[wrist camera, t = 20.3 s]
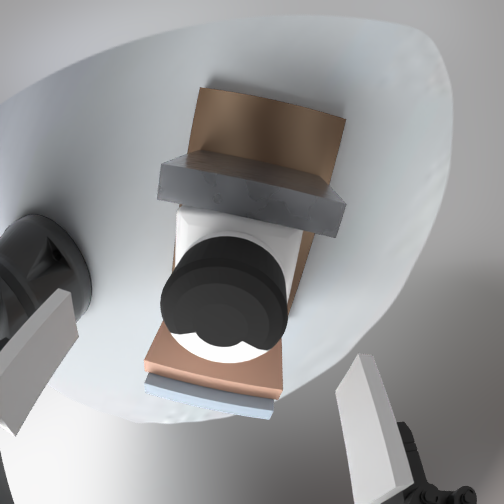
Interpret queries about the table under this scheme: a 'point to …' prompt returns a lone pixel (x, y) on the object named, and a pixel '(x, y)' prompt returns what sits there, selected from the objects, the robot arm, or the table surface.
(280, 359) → the books
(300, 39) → the table surface
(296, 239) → the container
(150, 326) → the table surface
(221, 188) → the bookend
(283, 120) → the shelf
